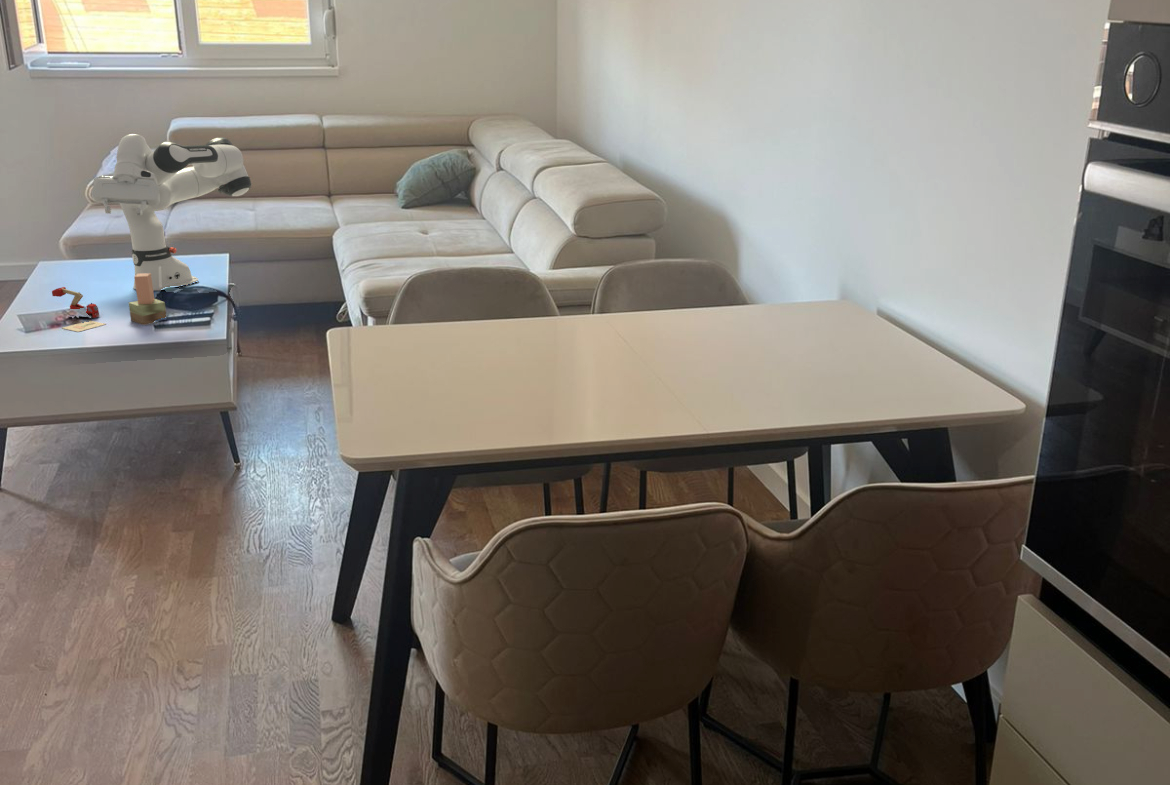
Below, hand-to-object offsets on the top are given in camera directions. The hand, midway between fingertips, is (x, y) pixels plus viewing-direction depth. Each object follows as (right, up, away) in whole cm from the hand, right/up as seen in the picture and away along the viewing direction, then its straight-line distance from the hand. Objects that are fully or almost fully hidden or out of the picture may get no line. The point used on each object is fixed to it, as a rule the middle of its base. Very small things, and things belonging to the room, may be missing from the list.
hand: (123, 213), depth 340 cm
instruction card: (-12, -36, -2) cm, 38 cm away
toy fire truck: (-18, -33, +8) cm, 38 cm away
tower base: (+6, -34, +4) cm, 35 cm away
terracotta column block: (+6, -28, +2) cm, 29 cm away
